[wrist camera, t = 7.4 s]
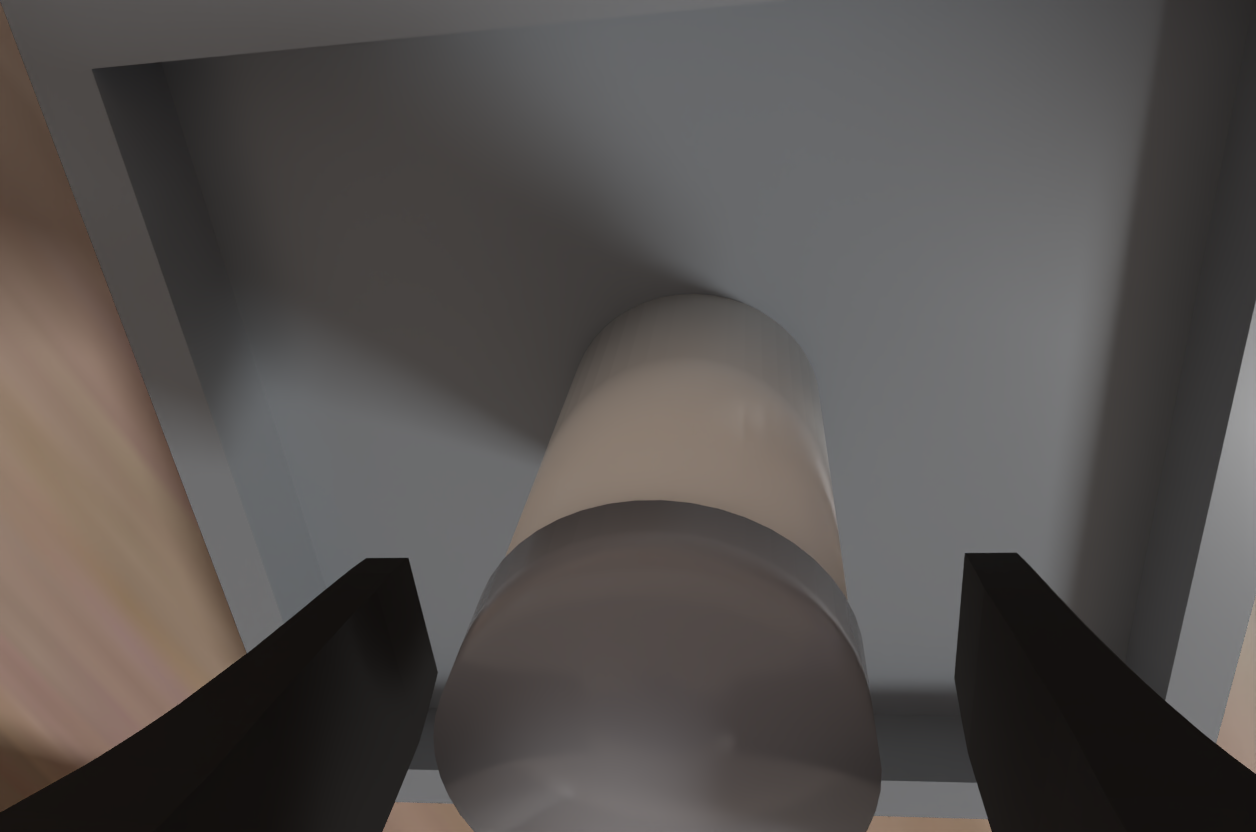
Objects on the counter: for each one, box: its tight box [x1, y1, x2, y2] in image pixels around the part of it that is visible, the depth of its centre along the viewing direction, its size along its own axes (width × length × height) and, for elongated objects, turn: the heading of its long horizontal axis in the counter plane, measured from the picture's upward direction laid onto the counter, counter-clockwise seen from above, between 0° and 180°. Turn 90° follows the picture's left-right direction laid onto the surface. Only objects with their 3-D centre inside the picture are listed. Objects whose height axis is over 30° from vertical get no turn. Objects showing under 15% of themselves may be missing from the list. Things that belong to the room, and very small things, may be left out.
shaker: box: [433, 294, 882, 832], centre depth 13 cm, size 5×5×8 cm
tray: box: [0, 0, 1256, 819], centre depth 16 cm, size 18×16×2 cm
